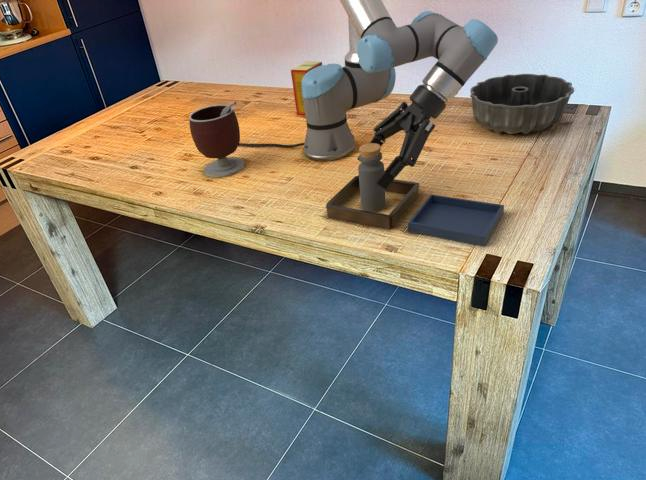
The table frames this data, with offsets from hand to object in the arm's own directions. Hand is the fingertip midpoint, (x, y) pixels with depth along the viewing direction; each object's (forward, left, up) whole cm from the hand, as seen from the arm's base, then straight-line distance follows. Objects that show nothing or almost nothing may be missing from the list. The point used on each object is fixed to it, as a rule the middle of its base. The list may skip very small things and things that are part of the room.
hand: (370, 173), depth 116 cm
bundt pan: (+18, +56, -9) cm, 60 cm away
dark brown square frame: (0, 0, -9) cm, 9 cm away
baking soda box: (-51, +55, -9) cm, 76 cm away
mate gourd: (-52, +7, -9) cm, 53 cm away
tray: (+20, -1, -9) cm, 22 cm away
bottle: (0, 0, -9) cm, 9 cm away
